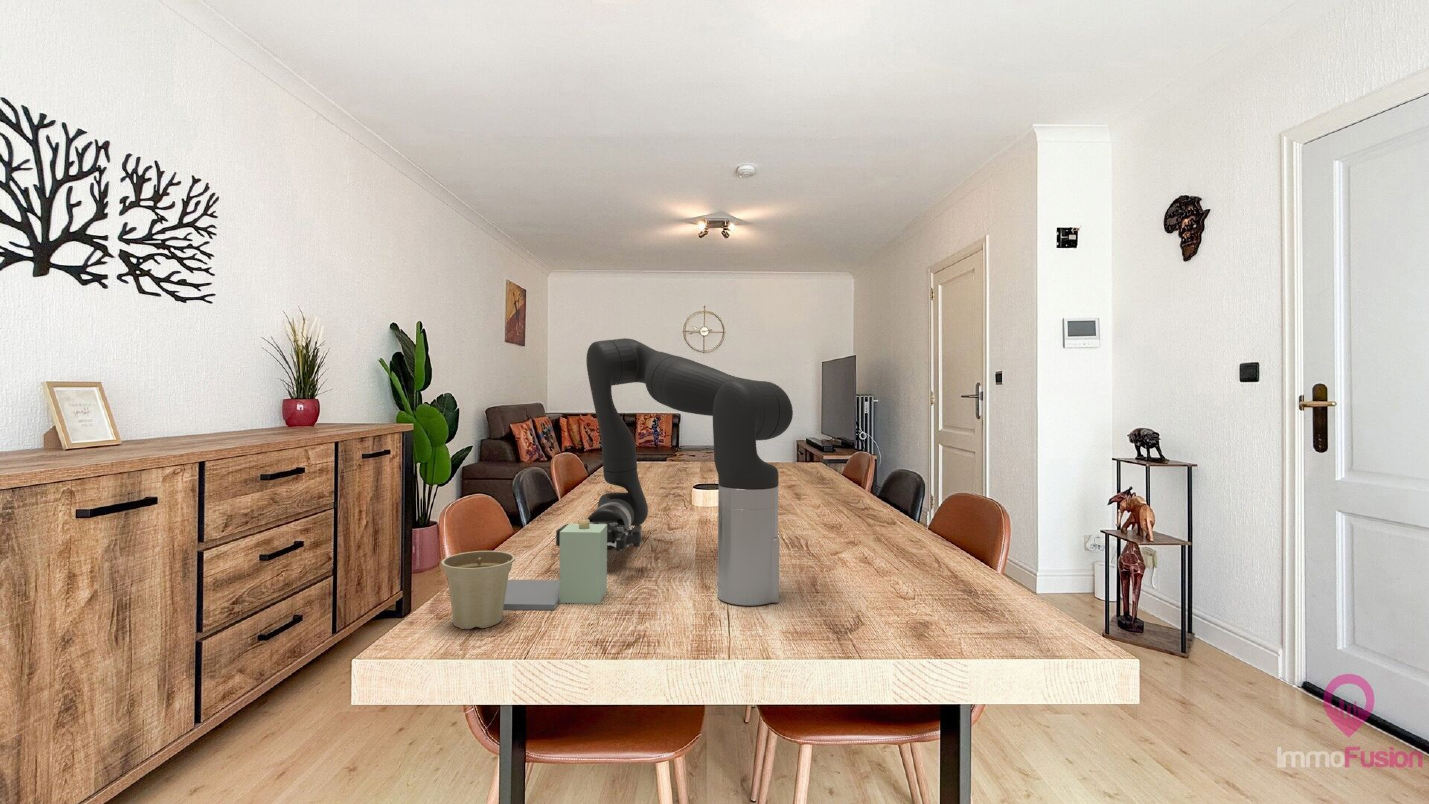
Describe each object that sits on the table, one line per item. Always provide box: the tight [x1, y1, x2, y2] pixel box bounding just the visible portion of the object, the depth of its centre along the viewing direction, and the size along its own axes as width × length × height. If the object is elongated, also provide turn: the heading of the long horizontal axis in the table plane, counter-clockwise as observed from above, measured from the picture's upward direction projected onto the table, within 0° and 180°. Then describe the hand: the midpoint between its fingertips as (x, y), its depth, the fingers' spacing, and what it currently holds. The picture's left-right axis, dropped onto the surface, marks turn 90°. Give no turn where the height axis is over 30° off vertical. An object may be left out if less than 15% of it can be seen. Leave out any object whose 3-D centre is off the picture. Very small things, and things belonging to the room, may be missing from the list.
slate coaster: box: [503, 579, 560, 611], centre depth 99 cm, size 12×12×1 cm
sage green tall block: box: [558, 518, 608, 605], centre depth 99 cm, size 6×6×12 cm
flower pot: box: [440, 550, 516, 630], centre depth 88 cm, size 9×9×9 cm
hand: (592, 545), depth 105 cm, fingers open, 8 cm apart
